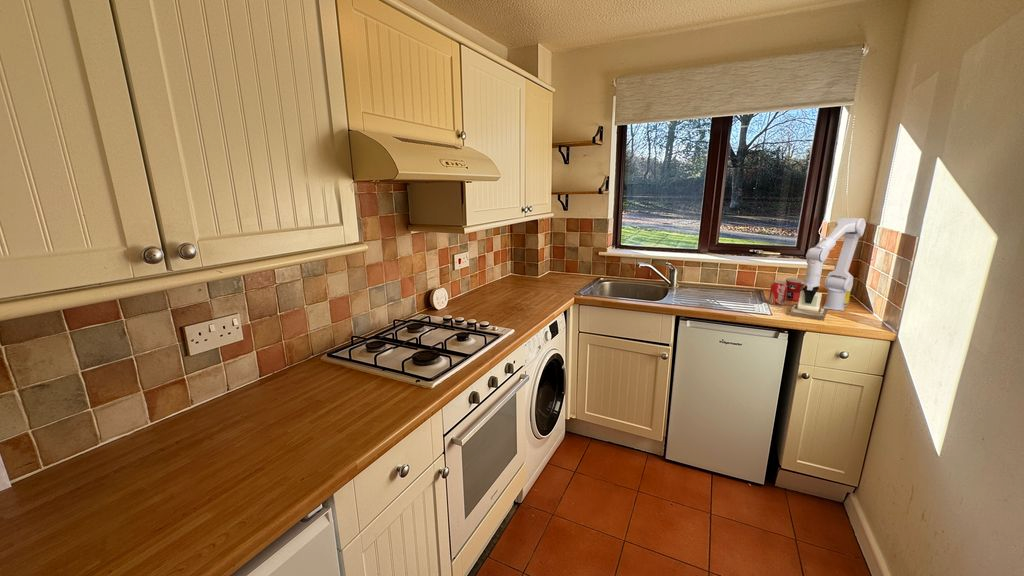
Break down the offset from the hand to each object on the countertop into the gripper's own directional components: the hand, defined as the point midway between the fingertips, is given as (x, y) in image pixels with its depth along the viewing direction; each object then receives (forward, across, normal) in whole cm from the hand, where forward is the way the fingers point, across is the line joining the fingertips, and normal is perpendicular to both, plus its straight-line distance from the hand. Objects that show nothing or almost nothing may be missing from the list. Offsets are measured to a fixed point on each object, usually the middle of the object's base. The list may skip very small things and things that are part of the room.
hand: (808, 302), depth 195 cm
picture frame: (+3, 0, 0) cm, 3 cm away
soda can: (+6, -9, -14) cm, 17 cm away
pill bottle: (+6, -29, +11) cm, 32 cm away
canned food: (+6, -24, -9) cm, 26 cm away
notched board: (+6, -2, 0) cm, 6 cm away
